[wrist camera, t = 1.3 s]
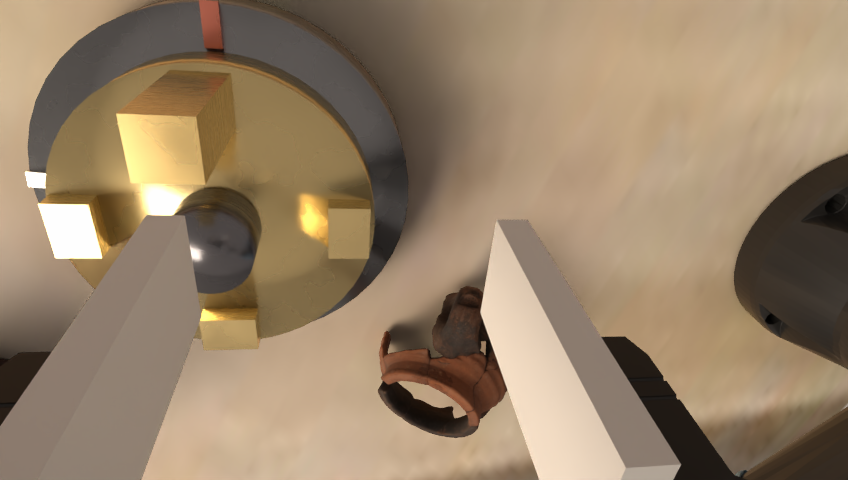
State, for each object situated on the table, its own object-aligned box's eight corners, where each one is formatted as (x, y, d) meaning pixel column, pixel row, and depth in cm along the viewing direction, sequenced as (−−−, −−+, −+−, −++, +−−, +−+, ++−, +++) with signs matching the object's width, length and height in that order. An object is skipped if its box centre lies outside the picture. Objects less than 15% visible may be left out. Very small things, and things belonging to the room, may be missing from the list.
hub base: (414, 7, 27) (442, 38, 19) (394, 302, 37) (407, 401, 29) (5, -24, 24) (-153, -2, 16) (99, 306, 34) (27, 417, 26)
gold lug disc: (368, 310, 32) (375, 421, 25) (107, 313, 30) (31, 437, 23) (377, 61, 25) (391, 116, 18) (31, 40, 23) (-118, 93, 15)
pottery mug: (513, 365, 42) (486, 461, 37) (404, 329, 44) (363, 415, 39) (544, 266, 34) (514, 372, 28) (407, 226, 36) (354, 318, 30)
